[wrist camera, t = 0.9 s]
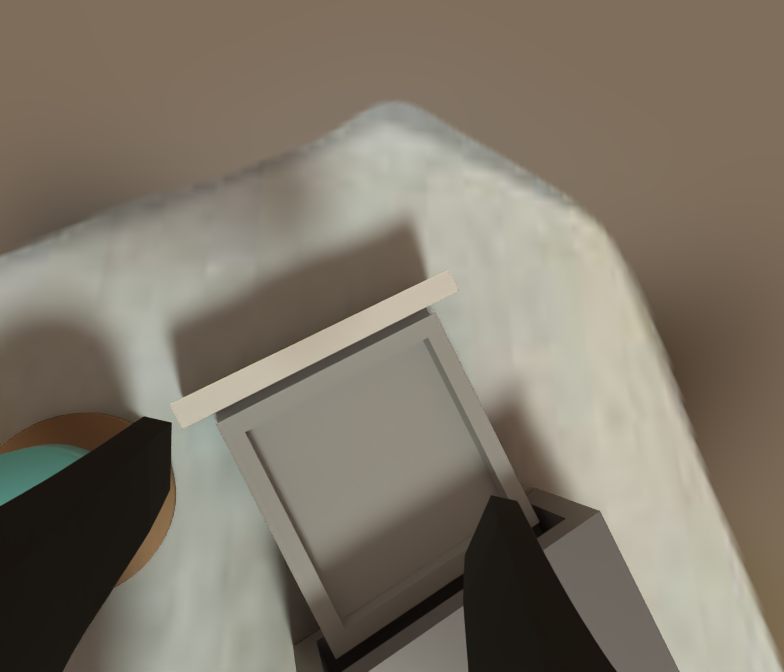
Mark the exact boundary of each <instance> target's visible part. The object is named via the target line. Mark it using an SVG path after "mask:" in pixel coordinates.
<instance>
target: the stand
mask: <svg viewBox="0 0 784 672" xmlns="http://www.w3.org/2000/svg"><path fill="white" fill-rule="evenodd" d="M131 424H132V423H130V422H128V421H126V420H124V419H121V418H118V417H115V416H110V415H106V414H98V413H76V414H69V415H62V416H57V417H54V418H50V419H47V420H44V421H41V422H39V423H36V424H34V425H32V426H30V427H28V428H27V429H25V430H23V431H21V432H20V433H18V434H17V435H15V436H14V437H13V438H11V439H10V440H9V441H8V442H7V443H6V444H4V445H3V446H2V447H1V448H0V454H4V453H8V452H12V451H16V450H20V449H24V448H28V447H32V446H38V445H44V444H65V445H71V446H76V447H80V448H83V449H86V450H89V451H92V450H93V449H95V448H96V447H98V446H100V445H101V444H103V443H104V442H106V441H107V440H109V439H110V438H112V437H113V436H115V435H116V434H118V433H119V432H121V431H122V430H124V429H125V428H127V427H128V426H130V425H131ZM175 503H176V486H175V478H174V475H173V471H172V467H171V482H170V491H169V493H168V496H167V498H166V500H165V502H164V504H163V506H162V508H161V510H160V512H159V514H158V516H157V518H156V520H155V522H154V524H153V526H152V528H151V530H150V532H149V534H148V535H147V537H146V538H145V540H144V542H143V543H142V545H141V546H140V548H139V549H138V551H137V553H136V554H135V556H134V557H133V559H132V560H131V562H130V563H129V565H128V567H127V568H126V570H125V571H124V573H123V574H122V576H121V577H120V579H119V580H118V582H117V583H116V585H115V586H114V587H116V586H118V585H120V584H121V583H123V582H125V581H126V580H128V579H129V578H130V577H132V576H133V575H134V574H135V573H137V572H138V571H139V570H140V569H141V568H142V567H143V566H144V565H145V564H146V563H147V562H148V561H149V560H150V558H151V557H152V556H153V555H154V553H155V552H156V551H157V549H158V548H159V546H160V544H161V543H162V541H163V539H164V538H165V536H166V534H167V532H168V529H169V527H170V525H171V522H172V518H173V515H174V510H175Z"/></svg>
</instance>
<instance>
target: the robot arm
mask: <svg viewBox="0 0 784 672" xmlns="http://www.w3.org/2000/svg"><path fill="white" fill-rule="evenodd" d="M171 430H172V423H171V422H166V421H162V420H158V419H153V418H149V417H142V418H141V419H139V420H137V421H136V422H134V423H133V424H131V425H130V426H128V427H127V428H125V429H124V430H122V431H121V432H119V433H118V434H116V435H115V436H113V437H112V438H110V439H109V440H107V441H106V442H104V443H103V444H101V445H100V446H98V447H96V448H95V449H93V450H92V451H90V452H89V453H87V454H86V455H84V456H83V457H81V458H80V459H78V460H76V461H75V462H73V463H72V464H70V465H68V466H67V467H65V468H64V469H62V470H60V471H59V472H57V473H56V474H54V475H52V476H51V477H49V478H48V479H46V480H44V481H43V482H41V483H39V484H37V485H36V486H34V487H32V488H31V489H29V490H27V491H25V492H24V493H22V494H20V495H18V496H17V497H15V498H13V499H11V500H10V501H8V502H6V503H4V504H3V505H1V506H0V672H63V670H64V668H65V666H66V664H67V662H68V660H69V658H70V657H71V655H72V653H73V651H74V649H75V648H76V646H77V644H78V643H79V641H80V639H81V638H82V636H83V634H84V633H85V631H86V629H87V628H88V626H89V625H90V623H91V622H92V620H93V619H94V617H95V616H96V614H97V613H98V611H99V610H100V608H101V606H102V605H103V603H104V602H105V600H106V599H107V597H108V596H109V594H110V593H111V591H112V590H113V588H114V586H115V585H116V583H117V582H118V580H119V579H120V577H121V576H122V574H123V573H124V571H125V570H126V568H127V567H128V565H129V563H130V562H131V560H132V559H133V557H134V556H135V554H136V553H137V551H138V549H139V548H140V546H141V545H142V543H143V542H144V540H145V538H146V537H147V535H148V534H149V532H150V530H151V528H152V526H153V524H154V522H155V520H156V518H157V516H158V514H159V512H160V510H161V508H162V506H163V504H164V502H165V500H166V498H167V496H168V493H169V491H170V482H171ZM463 608H464V622H465V635H466V648H467V660H468V672H617V671H616V670H615V668H614V667H613V666H612V664H611V663H610V661H609V660H608V658H607V657H606V656H605V654H604V653H603V651H602V650H601V648H600V646H599V645H598V643H597V642H596V640H595V639H594V637H593V636H592V634H591V632H590V631H589V629H588V628H587V626H586V625H585V623H584V621H583V620H582V618H581V617H580V615H579V613H578V612H577V610H576V608H575V607H574V605H573V603H572V601H571V600H570V598H569V596H568V595H567V593H566V591H565V589H564V587H563V586H562V584H561V582H560V580H559V579H558V577H557V575H556V573H555V572H554V570H553V568H552V566H551V564H550V562H549V561H548V559H547V557H546V555H545V553H544V551H543V549H542V547H541V545H540V543H539V542H538V540H537V538H536V536H535V534H534V532H533V530H532V528H531V526H530V524H529V522H528V520H527V518H526V516H525V514H524V512H523V510H522V508H521V506H520V505H519V503H518V501H515V500H511V499H507V498H502V497H498V496H493V495H491V496H490V498H489V500H488V503H487V505H486V507H485V510H484V512H483V514H482V517H481V519H480V521H479V523H478V526H477V528H476V530H475V533H474V535H473V537H472V540H471V542H470V544H469V546H468V549H467V551H466V553H465V561H464V585H463Z"/></svg>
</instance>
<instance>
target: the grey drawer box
mask: <svg viewBox="0 0 784 672" xmlns="http://www.w3.org/2000/svg"><path fill="white" fill-rule="evenodd" d="M526 496H527V498H528V500H529V502H530V504H531V506H532V508H533V510H534V512H535V514H536V516H537V518H538V520H539V523H538V524H536V525H535V526H533V527H532V530H533V532H534V534H535V536H536V538H537V540H538V542H539V543H540V545H541V547H542V549H543V551H544V553H545V555H546V557H547V559H548V561H549V562H550V564H551V566H552V568H553V570H554V572H555V573H556V575H557V577H558V579H559V580H560V582H561V584H562V586H563V587H564V589H565V591H566V593H567V595H568V596H569V598H570V600H571V601H572V603H573V605H574V607H575V608H576V610H577V612H578V613H579V615H580V617H581V618H582V620H583V621H584V623H585V625H586V626H587V628H588V629H589V631H590V632H591V634H592V636H593V637H594V639H595V640H596V642H597V643H598V645H599V646H600V648H601V650H602V651H603V653H604V654H605V656H606V657H607V658H608V660H609V661H610V663H611V664H612V666H613V667H614V668H615V670H616V671H617V672H679V670H678V668H677V666H676V664H675V662H674V660H673V658H672V656H671V654H670V652H669V650H668V648H667V645H666V643H665V641H664V639H663V637H662V635H661V633H660V631H659V629H658V627H657V625H656V623H655V621H654V619H653V617H652V615H651V613H650V611H649V609H648V607H647V605H646V603H645V601H644V599H643V597H642V595H641V593H640V591H639V589H638V587H637V585H636V583H635V581H634V579H633V577H632V575H631V573H630V571H629V569H628V567H627V565H626V563H625V561H624V559H623V557H622V555H621V553H620V551H619V549H618V547H617V545H616V542H615V540H614V538H613V536H612V534H611V532H610V530H609V528H608V526H607V524H606V522H605V520H604V518H603V516H602V514H601V512H600V511H598V510H595V509H593V508H590V507H587V506H584V505H581V504H578V503H576V502H573V501H570V500H567V499H564V498H561V497H558V496H556V495H553V494H550V493H547V492H544V491H541V490H538V489H534V490H533V491H531V492H530V493H528V494H527V495H526ZM463 585H464V573H463V574H462V575H460V576H459V577H457V578H456V579H454V580H453V581H451V582H450V583H449V584H447V585H446V586H444V587H443V588H441V589H440V590H438V591H437V592H435V593H434V594H432V595H431V596H429V597H428V598H426V599H425V600H423V601H422V602H420V603H419V604H417V605H416V606H414V607H413V608H411V609H410V610H408V611H407V612H405V613H404V614H403V615H401V616H400V617H398V618H397V619H395V620H394V621H392V622H391V623H389V624H388V625H386V626H385V627H383V628H382V629H380V630H379V631H377V632H376V633H374V634H373V635H371V636H370V637H368V638H367V639H365V640H364V641H362V642H361V643H359V644H358V645H357V646H355V647H354V648H352V649H351V650H349V651H348V652H346V653H345V654H343V655H342V656H340V657H339V658H337V659H336V658H335V657H334V655H333V653H332V651H331V649H330V647H329V645H328V643H327V641H326V639H325V637H324V635H323V633H322V631H321V629H319V630H318V631H316V632H315V633H313V634H311V635H310V636H308V637H307V638H305V639H304V640H302V641H301V642H299V643H298V644H296V645H295V646H293V649H294V657H295V664H296V671H297V672H468V660H467V648H466V635H465V622H464V608H463Z"/></svg>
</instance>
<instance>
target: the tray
mask: <svg viewBox="0 0 784 672" xmlns="http://www.w3.org/2000/svg"><path fill="white" fill-rule="evenodd" d="M457 291H459V290H458V288H457V286H456V284H455V282H454V280H453V278H452V276H451V274H450V272H449V270H446V271H444V272H442V273H439V274H437V275H435V276H433V277H431V278H429V279H427V280H425V281H423V282H421V283H419V284H417V285H415V286H413V287H411V288H408V289H406V290H404V291H402V292H400V293H398V294H396V295H394V296H392V297H390V298H388V299H386V300H384V301H382V302H380V303H377V304H375V305H373V306H371V307H369V308H367V309H365V310H363V311H361V312H359V313H357V314H355V315H353V316H351V317H349V318H346V319H344V320H342V321H340V322H338V323H336V324H334V325H332V326H330V327H328V328H326V329H324V330H322V331H320V332H318V333H316V334H313V335H311V336H309V337H307V338H305V339H303V340H301V341H299V342H297V343H295V344H293V345H291V346H289V347H287V348H285V349H282V350H280V351H278V352H276V353H274V354H272V355H270V356H268V357H266V358H264V359H262V360H260V361H258V362H256V363H254V364H251V365H249V366H247V367H245V368H243V369H241V370H239V371H237V372H235V373H233V374H231V375H229V376H227V377H225V378H223V379H220V380H218V381H216V382H214V383H212V384H210V385H208V386H206V387H204V388H202V389H200V390H198V391H196V392H194V393H192V394H189V395H187V396H185V397H183V398H181V399H179V400H177V401H175V402H173V403H171V404H170V406H171V408H172V410H173V412H174V414H175V416H176V418H177V420H178V422H179V424H180V426H181V428H182V429H183V428H185V427H187V426H189V425H191V424H193V423H195V422H197V421H199V420H201V419H203V418H205V417H207V416H209V415H211V414H213V415H214V417H215V419H216V421H217V423H216V425H217V427H218V429H219V431H220V433H221V435H222V437H223V439H224V441H225V443H226V445H227V447H228V449H229V450H230V452H231V454H232V456H233V458H234V460H235V462H236V464H237V466H238V468H239V470H240V472H241V474H242V476H243V478H244V480H245V482H246V484H247V486H248V488H249V490H250V492H251V494H252V496H253V498H254V500H255V502H256V503H257V505H258V507H259V509H260V511H261V513H262V515H263V517H264V519H265V521H266V523H267V525H268V527H269V529H270V531H271V533H272V535H273V537H274V539H275V541H276V543H277V545H278V547H279V549H280V551H281V553H282V554H283V556H284V558H285V560H286V562H287V564H288V566H289V568H290V570H291V572H292V574H293V576H294V578H295V580H296V582H297V584H298V586H299V588H300V590H301V592H302V594H303V596H304V598H305V600H306V602H307V604H308V605H309V607H310V609H311V611H312V613H313V615H314V617H315V619H316V621H317V623H318V625H319V627H320V629H321V631H322V633H323V635H324V637H325V639H326V641H327V643H328V645H329V647H330V649H331V651H332V653H333V655H334V657H335V658H336V659H337V658H339V657H340V656H342V655H343V654H345V653H346V652H348V651H349V650H351V649H352V648H354V647H355V646H357V645H358V644H359V643H361V642H362V641H364V640H365V639H367V638H368V637H370V636H371V635H373V634H374V633H376V632H377V631H379V630H380V629H382V628H383V627H385V626H386V625H388V624H389V623H391V622H392V621H394V620H395V619H397V618H398V617H400V616H401V615H403V614H404V613H405V612H407V611H408V610H410V609H411V608H413V607H414V606H416V605H417V604H419V603H420V602H422V601H423V600H425V599H426V598H428V597H429V596H431V595H432V594H434V593H435V592H437V591H438V590H440V589H441V588H443V587H444V586H446V585H447V584H449V583H450V582H451V581H453V580H454V579H456V578H457V577H459V576H460V575H462V574H463V573H464V561H465V553H466V551H467V549H468V546H469V544H470V542H471V540H472V537H473V535H474V533H475V530H476V528H477V526H478V523H479V521H480V519H481V517H482V514H483V512H484V510H485V507H486V505H487V503H488V500H489V498H490V496H491V495H493V496H498V497H502V498H507V499H511V500H515V501H518V503H519V505H520V506H521V508H522V510H523V512H524V514H525V516H526V518H527V520H528V522H529V524H530V526H531V528H532V527H533V526H535V525H536V524H538V523H539V520H538V518H537V516H536V514H535V512H534V510H533V508H532V506H531V504H530V502H529V500H528V498H527V496H526V494H525V492H524V490H523V488H522V486H521V484H520V482H519V480H518V478H517V476H516V474H515V472H514V470H513V468H512V466H511V464H510V462H509V460H508V458H507V456H506V454H505V452H504V450H503V447H502V445H501V443H500V441H499V439H498V437H497V435H496V433H495V431H494V429H493V427H492V425H491V423H490V421H489V419H488V417H487V415H486V413H485V411H484V409H483V407H482V405H481V403H480V401H479V399H478V397H477V395H476V393H475V391H474V389H473V387H472V385H471V383H470V381H469V379H468V377H467V375H466V373H465V371H464V369H463V367H462V365H461V363H460V361H459V359H458V357H457V355H456V353H455V351H454V349H453V347H452V345H451V343H450V341H449V339H448V337H447V335H446V333H445V331H444V329H443V327H442V325H441V323H440V321H439V319H438V317H437V315H436V313H434V314H431V315H429V313H428V311H427V309H426V307H427V306H429V305H431V304H433V303H435V302H437V301H439V300H441V299H443V298H445V297H447V296H449V295H451V294H453V293H455V292H457Z"/></svg>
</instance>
